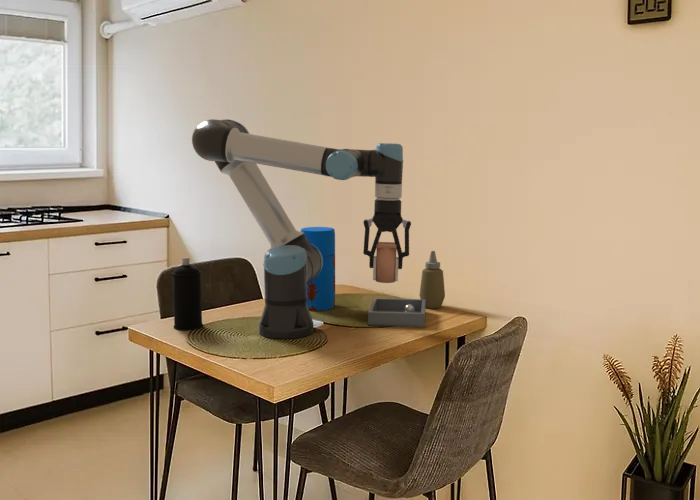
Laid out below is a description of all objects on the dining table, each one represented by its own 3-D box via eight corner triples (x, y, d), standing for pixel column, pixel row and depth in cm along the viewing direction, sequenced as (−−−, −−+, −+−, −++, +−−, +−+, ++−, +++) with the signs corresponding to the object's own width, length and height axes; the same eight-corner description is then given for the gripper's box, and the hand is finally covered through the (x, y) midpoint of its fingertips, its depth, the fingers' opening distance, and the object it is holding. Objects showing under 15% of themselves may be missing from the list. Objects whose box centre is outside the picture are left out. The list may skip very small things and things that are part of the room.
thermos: (296, 309, 226) (295, 230, 222) (308, 301, 237) (307, 226, 232) (329, 311, 223) (328, 231, 219) (339, 304, 233) (339, 227, 229)
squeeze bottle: (415, 308, 228) (416, 252, 225) (424, 302, 235) (425, 248, 232) (439, 311, 224) (440, 254, 221) (448, 305, 231) (449, 250, 228)
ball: (406, 312, 216) (412, 305, 216) (400, 308, 218) (407, 300, 218) (411, 317, 217) (418, 310, 218) (406, 313, 220) (412, 305, 220)
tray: (368, 325, 207) (368, 312, 207) (373, 310, 225) (373, 298, 224) (424, 327, 205) (424, 313, 205) (425, 312, 223) (425, 299, 222)
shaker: (375, 282, 204) (376, 244, 202) (375, 278, 209) (377, 241, 207) (395, 283, 203) (396, 245, 201) (395, 279, 209) (396, 242, 207)
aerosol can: (196, 331, 202) (193, 260, 198) (168, 329, 203) (165, 259, 200) (207, 323, 210) (205, 255, 206) (181, 322, 211) (178, 254, 208)
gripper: (354, 199, 199) (352, 281, 203) (421, 201, 198) (418, 283, 202) (355, 196, 207) (353, 275, 210) (420, 198, 205) (417, 278, 209)
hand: (385, 279), depth 206 cm, fingers closed on shaker, 6 cm apart
